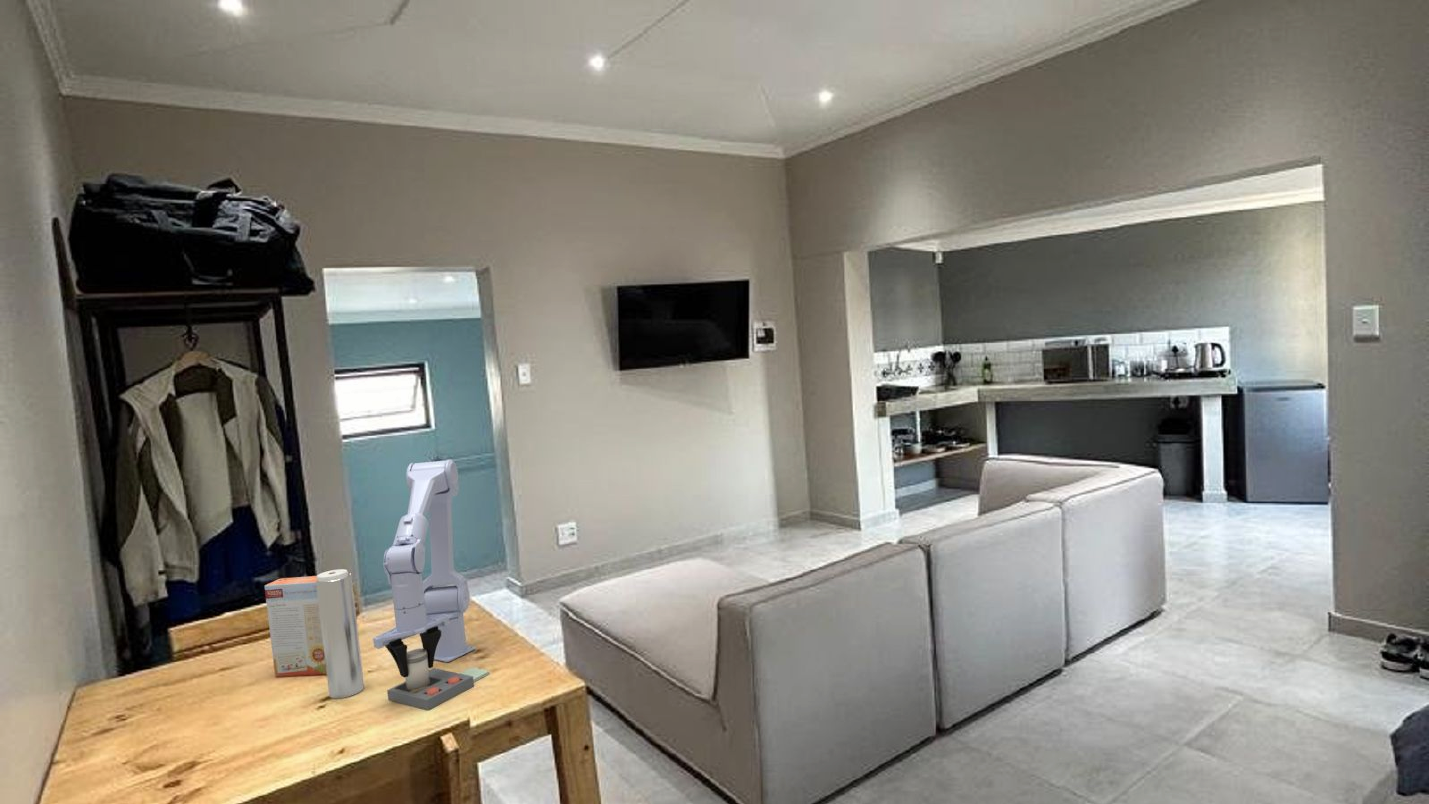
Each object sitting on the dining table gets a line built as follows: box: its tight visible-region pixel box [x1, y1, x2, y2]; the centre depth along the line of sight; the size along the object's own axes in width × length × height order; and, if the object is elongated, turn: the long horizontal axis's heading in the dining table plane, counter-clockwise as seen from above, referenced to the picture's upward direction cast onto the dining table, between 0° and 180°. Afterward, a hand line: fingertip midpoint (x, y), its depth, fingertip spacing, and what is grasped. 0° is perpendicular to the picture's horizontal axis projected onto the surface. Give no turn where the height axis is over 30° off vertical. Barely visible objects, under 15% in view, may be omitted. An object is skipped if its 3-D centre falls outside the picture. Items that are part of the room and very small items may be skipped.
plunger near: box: [427, 687, 439, 696], centre depth 144 cm, size 2×2×2 cm
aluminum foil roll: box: [316, 568, 365, 700], centre depth 152 cm, size 6×6×25 cm
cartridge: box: [404, 648, 430, 691], centre depth 148 cm, size 5×5×6 cm
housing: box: [386, 667, 475, 711], centre depth 148 cm, size 12×11×2 cm
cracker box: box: [264, 575, 327, 678], centre depth 165 cm, size 14×6×21 cm, turn 84°
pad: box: [458, 667, 490, 683], centre depth 155 cm, size 6×5×1 cm
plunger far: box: [448, 676, 460, 685], centre depth 148 cm, size 2×2×2 cm
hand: (416, 671), depth 148 cm, fingers closed on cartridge, 4 cm apart
